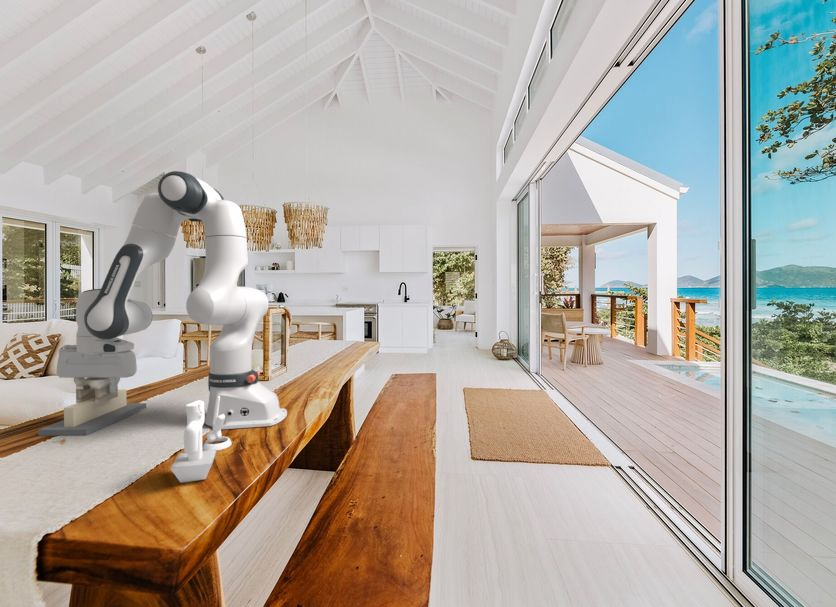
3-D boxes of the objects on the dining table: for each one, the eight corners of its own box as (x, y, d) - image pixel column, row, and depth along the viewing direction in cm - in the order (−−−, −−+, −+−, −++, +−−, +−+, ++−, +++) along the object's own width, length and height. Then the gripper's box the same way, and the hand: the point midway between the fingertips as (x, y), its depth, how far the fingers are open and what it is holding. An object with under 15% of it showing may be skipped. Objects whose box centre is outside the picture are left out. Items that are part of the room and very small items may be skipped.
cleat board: (146, 407, 126) (146, 387, 126) (86, 435, 102) (85, 410, 102) (107, 408, 125) (107, 388, 125) (38, 435, 101) (37, 410, 101)
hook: (224, 437, 89) (206, 422, 90) (212, 465, 93) (194, 450, 94) (244, 423, 95) (227, 409, 96) (232, 450, 99) (215, 435, 100)
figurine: (168, 490, 74) (167, 411, 74) (180, 468, 83) (179, 398, 82) (211, 483, 76) (210, 407, 76) (218, 463, 85) (217, 395, 85)
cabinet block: (117, 396, 117) (117, 375, 117) (97, 404, 109) (97, 381, 109) (95, 396, 117) (95, 375, 117) (73, 404, 109) (73, 381, 109)
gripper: (49, 346, 110) (50, 395, 110) (124, 346, 110) (125, 395, 111) (68, 343, 116) (69, 389, 116) (139, 343, 117) (140, 389, 117)
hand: (97, 392), depth 114 cm, fingers closed on cabinet block, 6 cm apart
